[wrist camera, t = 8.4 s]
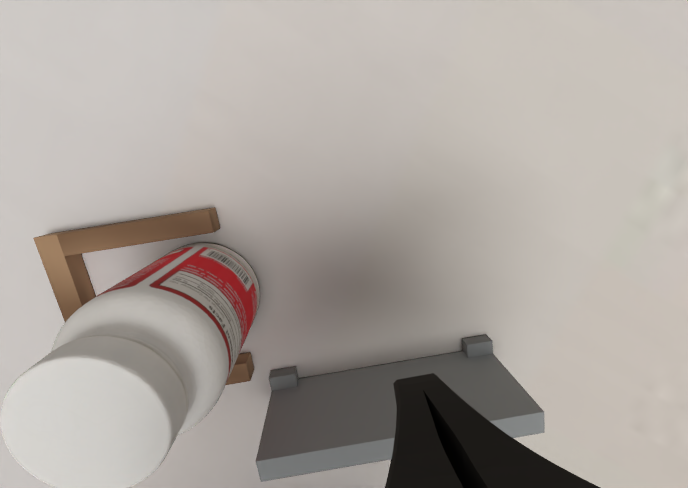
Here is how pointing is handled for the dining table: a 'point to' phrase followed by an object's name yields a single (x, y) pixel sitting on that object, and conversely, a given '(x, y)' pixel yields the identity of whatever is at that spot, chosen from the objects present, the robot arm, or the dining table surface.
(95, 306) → the pill bottle
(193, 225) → the walnut bracket
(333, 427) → the slate screen
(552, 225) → the dining table surface
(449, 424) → the robot arm
